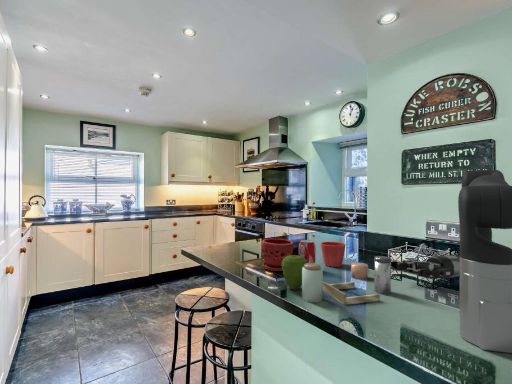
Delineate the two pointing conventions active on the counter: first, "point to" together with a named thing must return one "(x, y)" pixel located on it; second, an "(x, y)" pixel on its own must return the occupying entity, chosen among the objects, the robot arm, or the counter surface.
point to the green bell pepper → (293, 270)
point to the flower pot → (333, 253)
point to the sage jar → (312, 282)
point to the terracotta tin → (359, 271)
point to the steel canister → (382, 275)
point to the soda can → (307, 250)
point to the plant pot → (275, 253)
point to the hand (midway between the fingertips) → (408, 269)
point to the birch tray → (341, 297)
